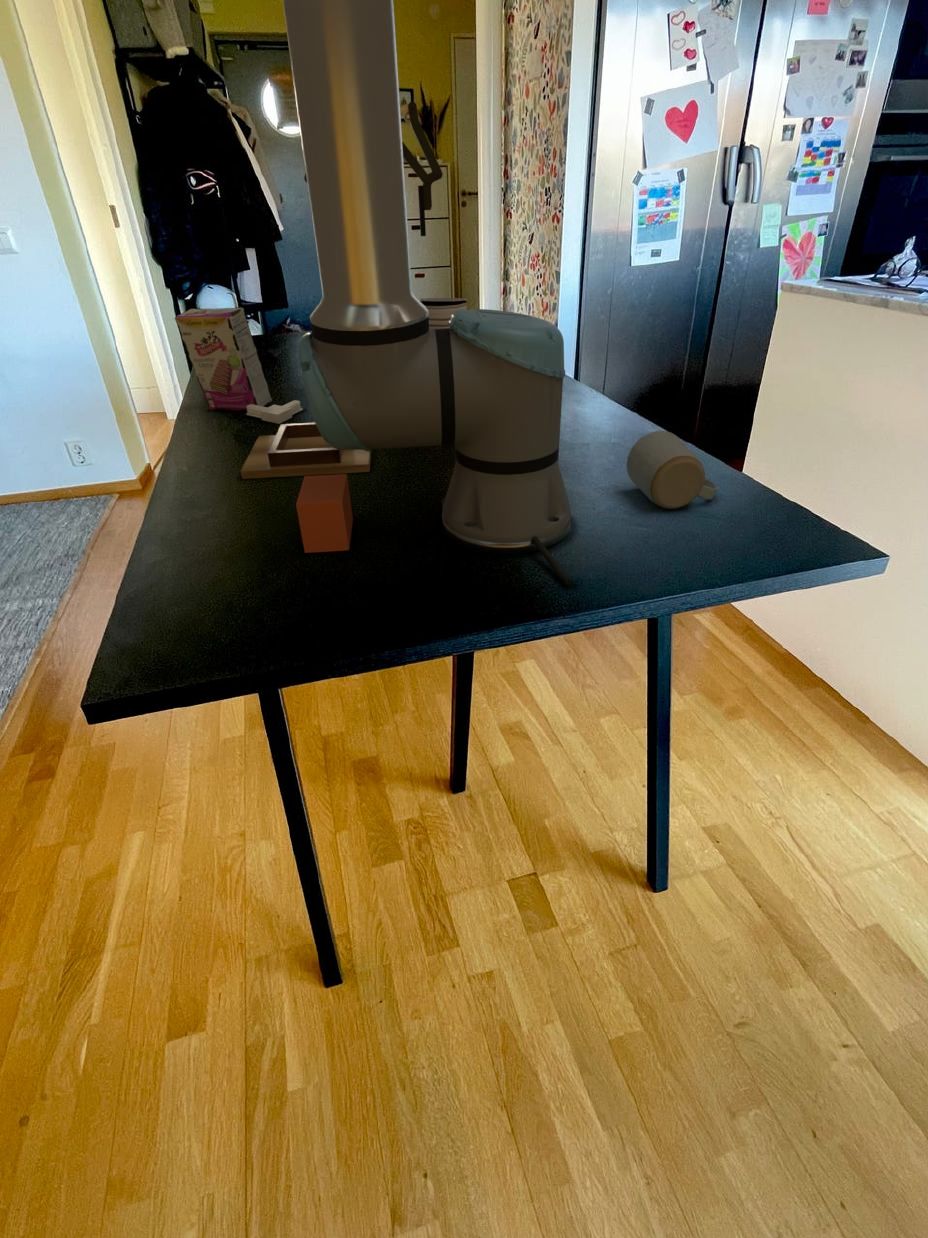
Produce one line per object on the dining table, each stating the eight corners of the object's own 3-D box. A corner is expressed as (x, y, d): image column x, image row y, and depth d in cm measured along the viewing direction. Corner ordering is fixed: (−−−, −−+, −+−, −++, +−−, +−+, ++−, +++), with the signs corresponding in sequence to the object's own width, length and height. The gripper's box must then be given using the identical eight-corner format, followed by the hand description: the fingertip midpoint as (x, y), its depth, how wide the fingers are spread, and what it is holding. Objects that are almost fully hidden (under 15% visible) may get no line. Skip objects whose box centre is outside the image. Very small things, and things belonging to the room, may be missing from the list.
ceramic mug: (647, 515, 80) (657, 454, 76) (622, 489, 87) (629, 431, 83) (728, 507, 82) (742, 447, 78) (697, 482, 89) (708, 425, 84)
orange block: (349, 550, 75) (342, 501, 72) (304, 553, 75) (295, 504, 72) (353, 519, 82) (346, 473, 78) (312, 522, 82) (304, 476, 78)
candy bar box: (208, 411, 121) (171, 317, 111) (223, 400, 125) (190, 307, 114) (259, 412, 118) (227, 315, 107) (273, 400, 121) (244, 305, 111)
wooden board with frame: (369, 472, 95) (367, 450, 93) (242, 479, 94) (237, 457, 92) (372, 437, 107) (370, 417, 105) (260, 443, 106) (256, 423, 104)
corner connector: (271, 402, 122) (270, 393, 121) (307, 409, 120) (306, 400, 119) (242, 415, 117) (240, 406, 116) (279, 423, 114) (277, 414, 113)
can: (410, 355, 153) (406, 298, 147) (439, 345, 161) (437, 291, 154) (450, 361, 148) (448, 302, 141) (478, 350, 155) (477, 294, 149)
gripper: (453, 60, 94) (457, 232, 106) (276, 64, 93) (301, 238, 105) (456, 52, 88) (461, 235, 100) (267, 56, 87) (294, 242, 99)
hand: (379, 237), depth 103 cm, fingers open, 13 cm apart
